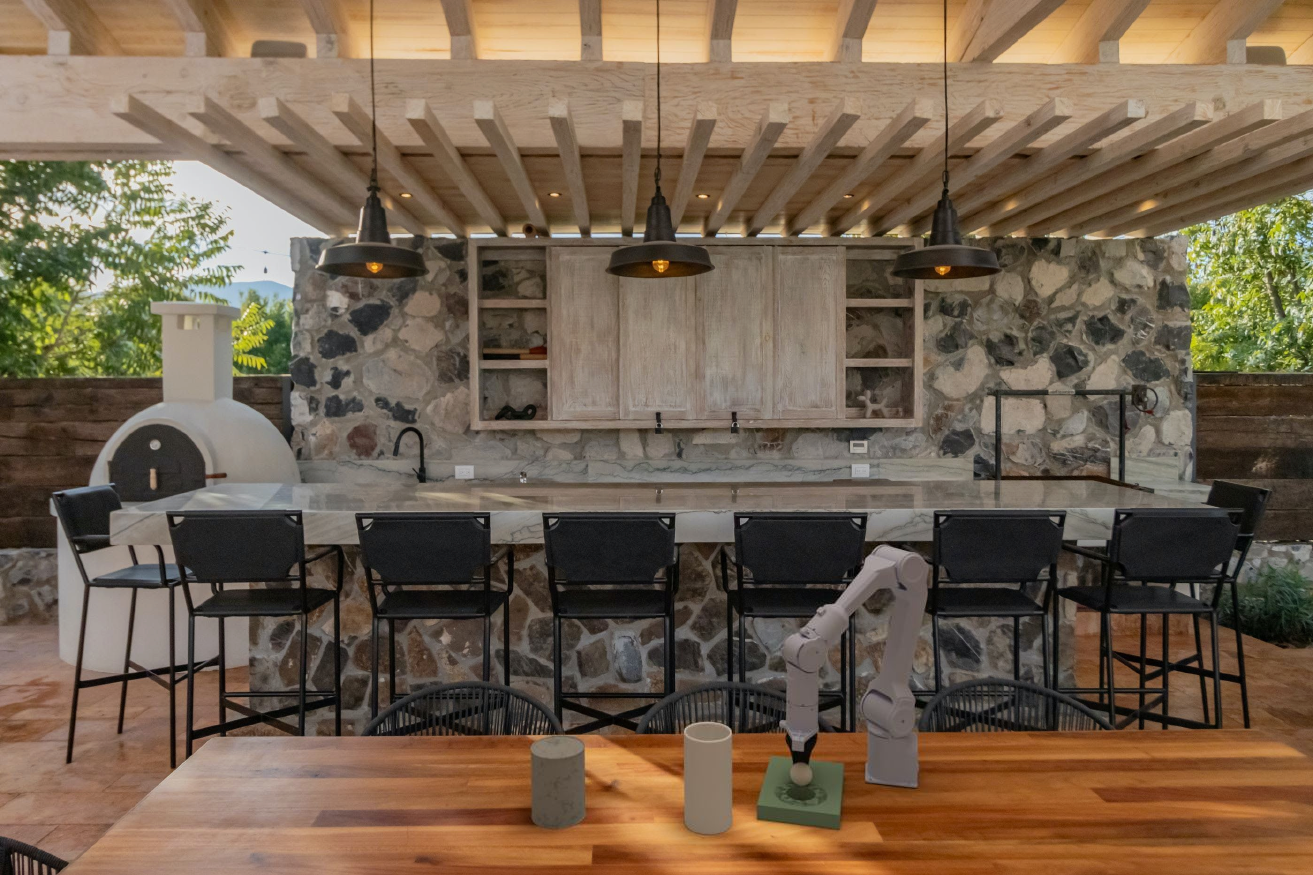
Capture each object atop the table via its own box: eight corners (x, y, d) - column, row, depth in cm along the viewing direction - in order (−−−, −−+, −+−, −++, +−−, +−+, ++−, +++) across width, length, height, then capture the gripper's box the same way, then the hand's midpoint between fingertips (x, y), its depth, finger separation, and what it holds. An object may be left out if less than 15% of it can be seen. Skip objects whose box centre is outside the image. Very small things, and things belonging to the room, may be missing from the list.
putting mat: (771, 767, 162) (771, 755, 162) (843, 775, 158) (843, 763, 158) (756, 818, 143) (756, 804, 142) (839, 829, 139) (839, 814, 139)
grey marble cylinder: (594, 805, 147) (593, 738, 147) (571, 832, 138) (571, 761, 138) (546, 797, 151) (545, 732, 150) (521, 823, 142) (520, 753, 141)
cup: (729, 836, 137) (729, 742, 136) (680, 831, 139) (680, 739, 138) (734, 812, 145) (734, 723, 144) (688, 807, 147) (688, 719, 146)
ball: (812, 766, 148) (809, 789, 147) (815, 763, 151) (811, 786, 150) (790, 760, 149) (787, 783, 148) (793, 758, 153) (790, 781, 152)
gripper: (784, 684, 158) (783, 753, 159) (775, 713, 144) (774, 788, 145) (821, 688, 157) (820, 758, 157) (816, 717, 143) (814, 793, 143)
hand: (800, 773), depth 151 cm, fingers closed, pressing on ball
